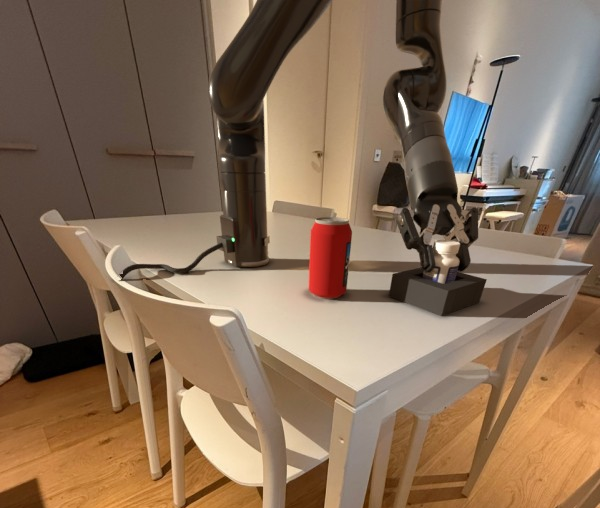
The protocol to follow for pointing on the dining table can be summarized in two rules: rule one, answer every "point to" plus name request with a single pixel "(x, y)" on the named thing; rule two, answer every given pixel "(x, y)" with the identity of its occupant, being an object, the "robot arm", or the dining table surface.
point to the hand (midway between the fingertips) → (447, 269)
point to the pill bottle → (444, 262)
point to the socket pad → (436, 291)
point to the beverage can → (329, 257)
